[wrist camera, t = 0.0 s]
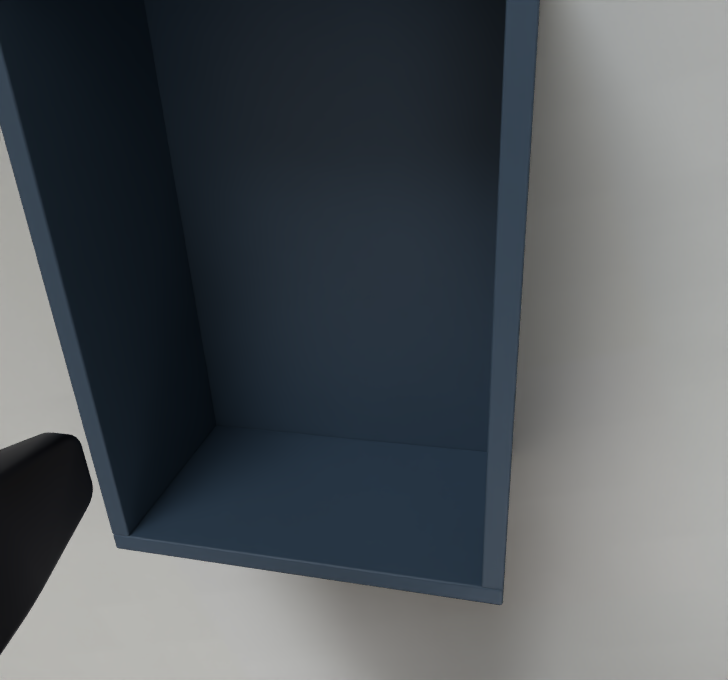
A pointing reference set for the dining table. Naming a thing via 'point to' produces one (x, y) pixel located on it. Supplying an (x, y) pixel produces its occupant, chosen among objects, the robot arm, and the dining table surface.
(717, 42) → the dining table surface
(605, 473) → the dining table surface
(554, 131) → the dining table surface
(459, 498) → the dark blue open bin
